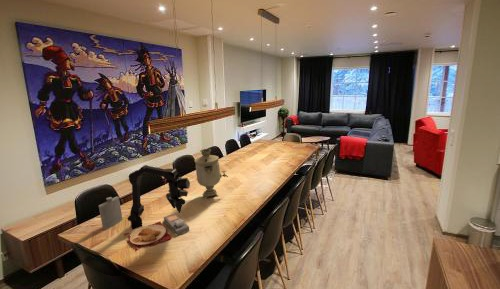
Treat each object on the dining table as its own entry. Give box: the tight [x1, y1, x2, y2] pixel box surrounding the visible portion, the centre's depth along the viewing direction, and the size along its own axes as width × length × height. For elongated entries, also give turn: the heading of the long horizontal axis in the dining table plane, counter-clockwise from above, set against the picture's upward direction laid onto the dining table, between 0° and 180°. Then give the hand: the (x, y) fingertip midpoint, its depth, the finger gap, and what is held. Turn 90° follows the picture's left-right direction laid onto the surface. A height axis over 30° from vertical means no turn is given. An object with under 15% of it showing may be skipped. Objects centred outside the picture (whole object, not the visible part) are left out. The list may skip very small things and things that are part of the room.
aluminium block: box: [174, 218, 184, 228], centre depth 174 cm, size 4×4×6 cm
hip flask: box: [98, 196, 123, 231], centre depth 184 cm, size 16×4×20 cm, turn 161°
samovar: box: [194, 148, 229, 200], centre depth 221 cm, size 30×26×40 cm
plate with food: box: [123, 220, 173, 252], centre depth 168 cm, size 24×26×4 cm
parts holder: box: [163, 213, 190, 236], centre depth 179 cm, size 8×24×3 cm, turn 36°
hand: (176, 210), depth 174 cm, fingers open, 9 cm apart
